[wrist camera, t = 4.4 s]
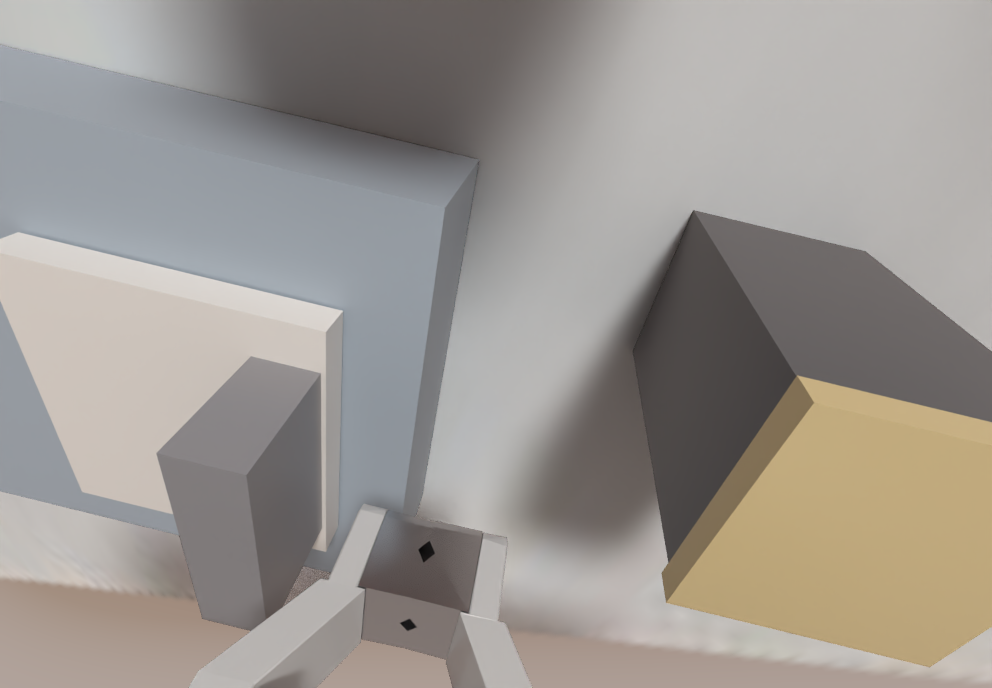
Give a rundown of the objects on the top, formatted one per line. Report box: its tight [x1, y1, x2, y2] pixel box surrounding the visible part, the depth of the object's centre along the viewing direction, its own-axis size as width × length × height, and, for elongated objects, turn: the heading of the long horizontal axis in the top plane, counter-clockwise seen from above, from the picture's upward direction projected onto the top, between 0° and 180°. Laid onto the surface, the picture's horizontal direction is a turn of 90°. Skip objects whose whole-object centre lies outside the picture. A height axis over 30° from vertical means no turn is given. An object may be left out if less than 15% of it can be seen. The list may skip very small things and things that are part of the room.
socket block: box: [0, 45, 479, 573], centre depth 13 cm, size 14×12×4 cm
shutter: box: [0, 232, 343, 631], centre depth 10 cm, size 7×7×3 cm
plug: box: [633, 210, 992, 667], centre depth 9 cm, size 4×4×7 cm
